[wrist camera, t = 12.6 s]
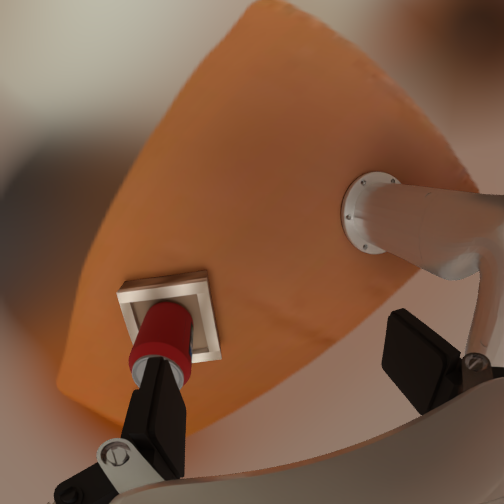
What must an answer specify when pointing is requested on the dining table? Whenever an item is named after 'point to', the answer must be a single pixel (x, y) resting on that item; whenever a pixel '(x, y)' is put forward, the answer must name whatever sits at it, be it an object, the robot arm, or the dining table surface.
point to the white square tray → (182, 293)
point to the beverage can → (164, 341)
